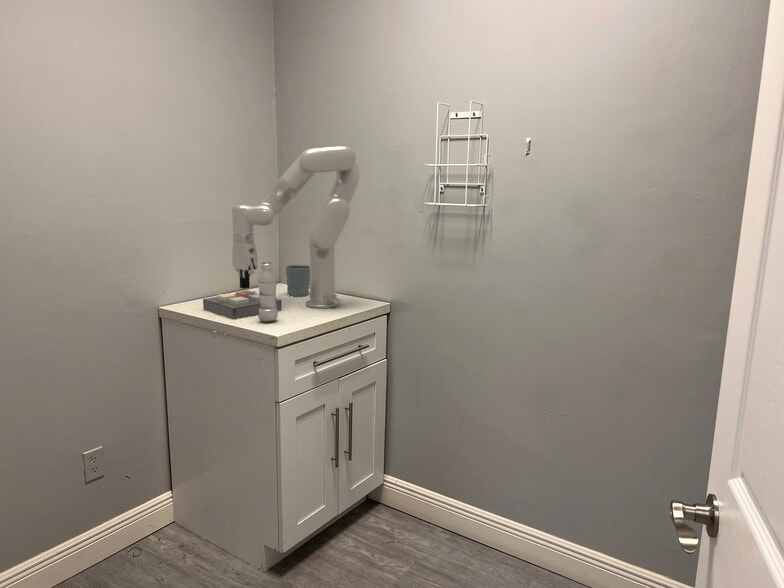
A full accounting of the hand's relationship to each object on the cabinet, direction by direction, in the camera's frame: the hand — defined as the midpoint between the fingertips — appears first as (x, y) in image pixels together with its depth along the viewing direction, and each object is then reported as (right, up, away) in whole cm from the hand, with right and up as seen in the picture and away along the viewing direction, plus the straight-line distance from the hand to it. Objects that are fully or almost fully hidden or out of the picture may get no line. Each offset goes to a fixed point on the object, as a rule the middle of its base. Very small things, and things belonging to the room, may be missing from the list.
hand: (244, 287), depth 217 cm
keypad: (0, -8, -4) cm, 9 cm away
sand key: (-5, -5, -5) cm, 9 cm away
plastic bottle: (+13, -12, -19) cm, 26 cm away
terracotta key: (0, -4, +1) cm, 4 cm away
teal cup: (+16, -3, +24) cm, 29 cm away
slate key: (+6, -5, -4) cm, 9 cm away
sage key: (+1, -6, -10) cm, 12 cm away
